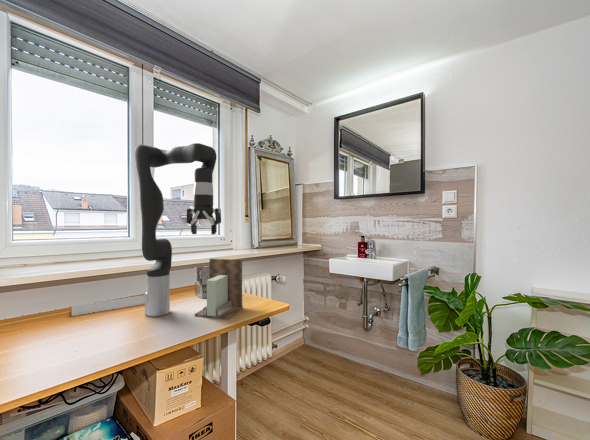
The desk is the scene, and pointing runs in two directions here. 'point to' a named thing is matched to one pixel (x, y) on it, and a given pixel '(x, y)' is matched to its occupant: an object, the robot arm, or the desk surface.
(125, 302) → the decorative molding
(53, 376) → the desk surface
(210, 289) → the pale green rectangular block
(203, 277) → the coffee box
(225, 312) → the wooden l-shaped stand
